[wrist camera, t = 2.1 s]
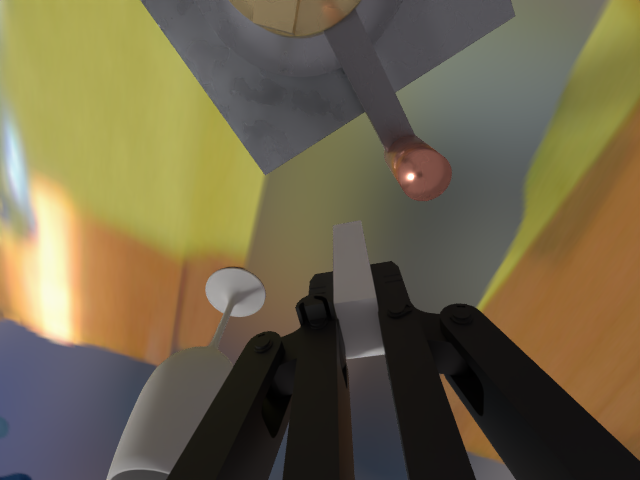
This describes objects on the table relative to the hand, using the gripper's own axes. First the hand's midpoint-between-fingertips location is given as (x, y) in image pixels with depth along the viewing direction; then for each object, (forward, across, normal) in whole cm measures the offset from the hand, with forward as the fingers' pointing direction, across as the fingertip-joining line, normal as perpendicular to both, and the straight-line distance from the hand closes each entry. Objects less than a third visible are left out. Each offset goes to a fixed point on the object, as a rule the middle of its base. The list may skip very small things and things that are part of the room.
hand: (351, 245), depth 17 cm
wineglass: (+16, -15, -12) cm, 26 cm away
